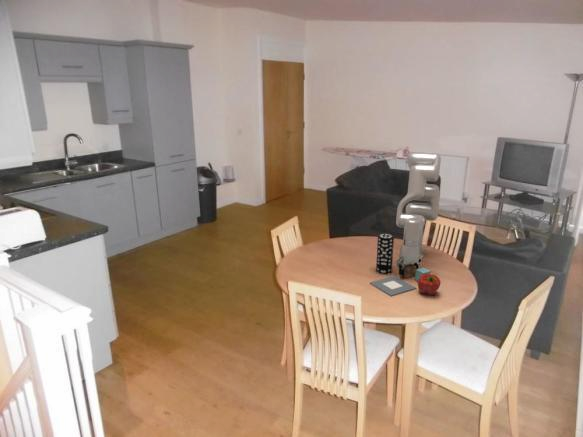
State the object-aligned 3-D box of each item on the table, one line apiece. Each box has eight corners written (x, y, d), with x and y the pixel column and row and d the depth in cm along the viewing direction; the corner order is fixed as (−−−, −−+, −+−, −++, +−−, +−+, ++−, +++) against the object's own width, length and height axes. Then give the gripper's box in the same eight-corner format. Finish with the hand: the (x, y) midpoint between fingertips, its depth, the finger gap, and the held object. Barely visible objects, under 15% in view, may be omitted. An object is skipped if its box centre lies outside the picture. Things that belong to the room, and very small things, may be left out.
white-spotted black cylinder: (382, 275, 222) (384, 239, 216) (372, 269, 229) (374, 235, 223) (395, 272, 226) (397, 237, 220) (385, 266, 233) (387, 232, 227)
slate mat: (394, 276, 221) (394, 275, 221) (416, 288, 207) (416, 287, 207) (369, 283, 214) (369, 282, 213) (391, 296, 200) (391, 295, 200)
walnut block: (408, 273, 225) (409, 262, 223) (415, 276, 220) (416, 266, 219) (401, 275, 222) (402, 264, 221) (408, 279, 218) (408, 268, 216)
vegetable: (444, 297, 199) (446, 277, 196) (424, 299, 197) (426, 280, 194) (432, 287, 209) (434, 268, 206) (413, 289, 207) (414, 270, 204)
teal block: (422, 278, 219) (423, 267, 217) (429, 281, 215) (430, 271, 213) (415, 280, 217) (416, 269, 215) (422, 284, 212) (423, 273, 211)
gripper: (418, 237, 223) (415, 267, 228) (392, 243, 215) (390, 274, 220) (428, 241, 217) (426, 272, 222) (403, 247, 209) (400, 279, 214)
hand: (408, 273), depth 221 cm, fingers open, 9 cm apart
